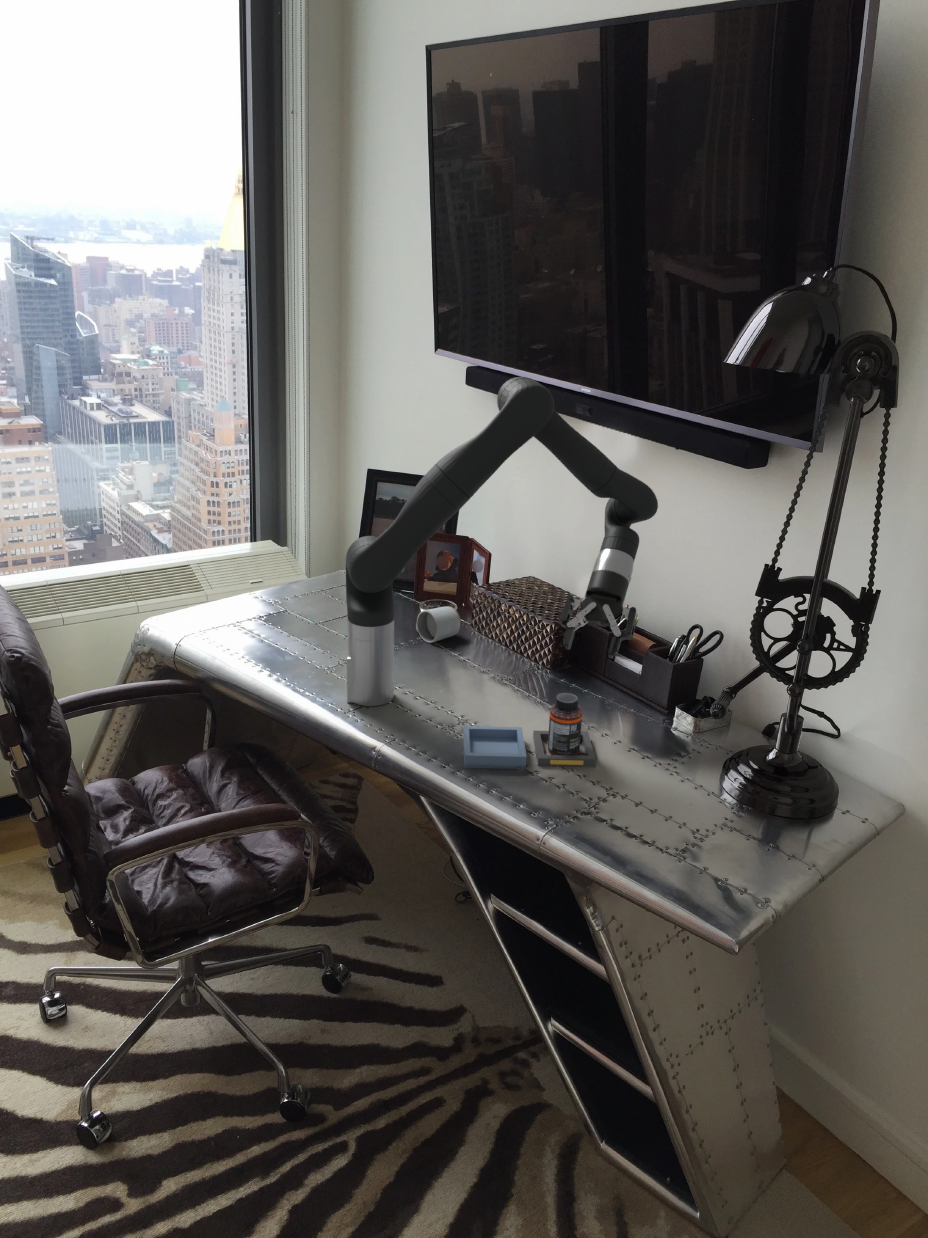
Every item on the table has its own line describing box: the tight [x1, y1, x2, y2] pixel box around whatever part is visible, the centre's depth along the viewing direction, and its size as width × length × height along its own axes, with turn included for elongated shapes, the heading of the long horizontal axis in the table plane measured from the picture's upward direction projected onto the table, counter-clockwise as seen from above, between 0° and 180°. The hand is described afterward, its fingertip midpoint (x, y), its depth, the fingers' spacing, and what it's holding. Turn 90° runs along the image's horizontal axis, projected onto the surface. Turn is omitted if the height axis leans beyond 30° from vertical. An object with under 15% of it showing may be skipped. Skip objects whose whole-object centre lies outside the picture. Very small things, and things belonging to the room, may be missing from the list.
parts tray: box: [462, 725, 527, 770], centre depth 182 cm, size 11×11×2 cm
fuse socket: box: [532, 730, 597, 768], centre depth 184 cm, size 10×10×2 cm
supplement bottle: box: [547, 692, 583, 756], centre depth 182 cm, size 6×6×11 cm
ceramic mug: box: [415, 606, 462, 644], centre depth 231 cm, size 11×8×8 cm
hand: (588, 652), depth 188 cm, fingers open, 8 cm apart
